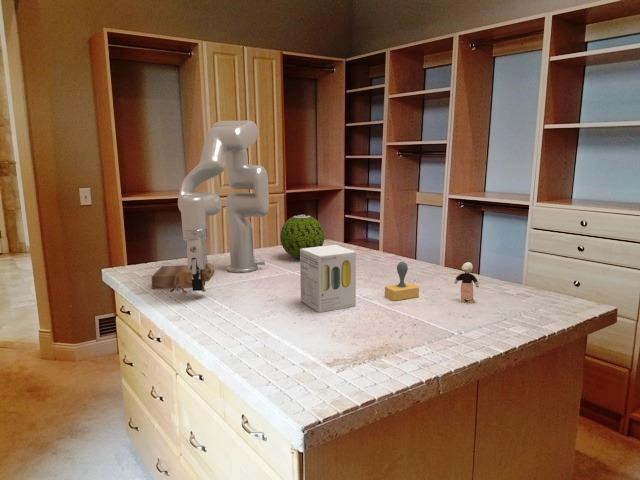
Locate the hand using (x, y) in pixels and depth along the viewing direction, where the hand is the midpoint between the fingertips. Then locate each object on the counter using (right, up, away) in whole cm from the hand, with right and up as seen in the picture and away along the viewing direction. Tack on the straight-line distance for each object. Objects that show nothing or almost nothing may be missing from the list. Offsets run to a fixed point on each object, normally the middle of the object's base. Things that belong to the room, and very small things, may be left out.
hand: (198, 287), depth 155 cm
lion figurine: (-1, -1, 0) cm, 2 cm away
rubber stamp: (+67, -3, -1) cm, 67 cm away
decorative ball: (+32, +7, +57) cm, 66 cm away
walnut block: (-12, 0, +20) cm, 23 cm away
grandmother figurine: (+87, -4, -6) cm, 87 cm away
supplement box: (+43, -5, -7) cm, 44 cm away
